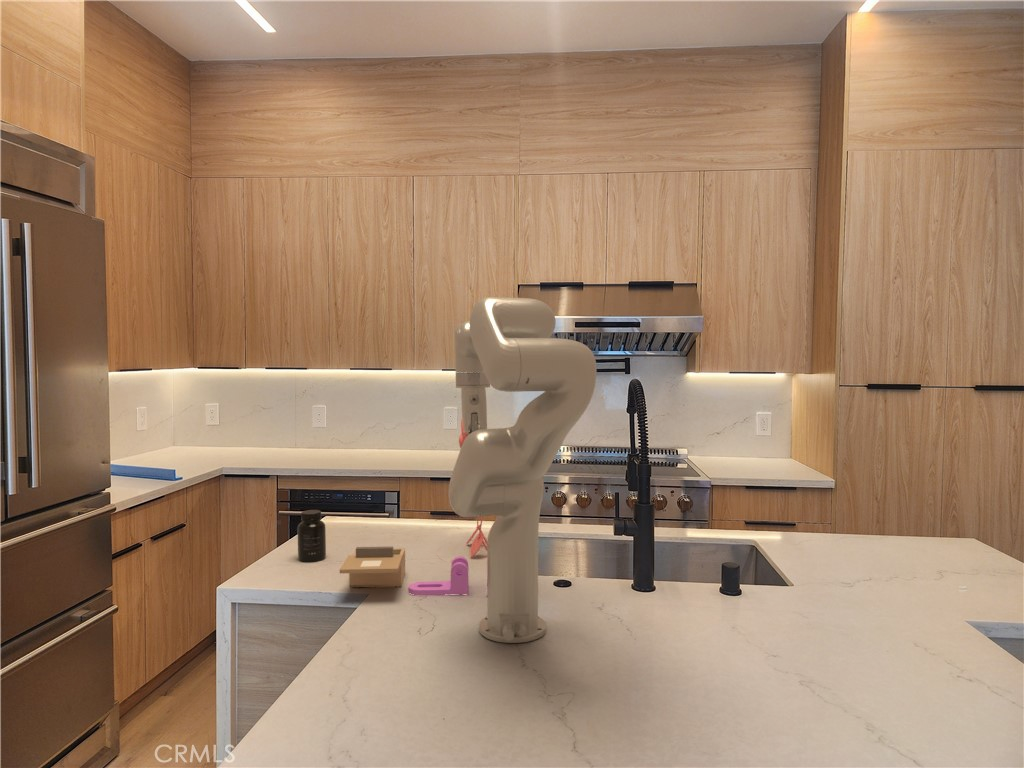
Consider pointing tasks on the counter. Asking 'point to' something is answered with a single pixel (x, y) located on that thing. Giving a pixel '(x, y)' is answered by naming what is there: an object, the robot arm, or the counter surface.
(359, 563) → the mailer lid
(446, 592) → the bracket
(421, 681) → the counter surface
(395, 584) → the mailer box
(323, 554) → the supplement bottle
